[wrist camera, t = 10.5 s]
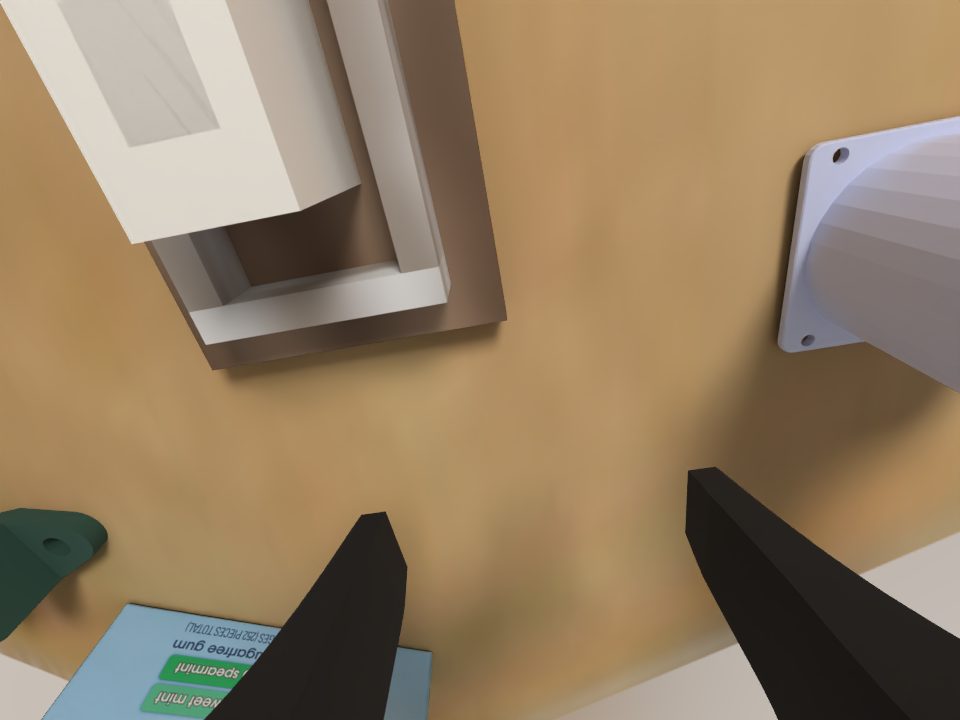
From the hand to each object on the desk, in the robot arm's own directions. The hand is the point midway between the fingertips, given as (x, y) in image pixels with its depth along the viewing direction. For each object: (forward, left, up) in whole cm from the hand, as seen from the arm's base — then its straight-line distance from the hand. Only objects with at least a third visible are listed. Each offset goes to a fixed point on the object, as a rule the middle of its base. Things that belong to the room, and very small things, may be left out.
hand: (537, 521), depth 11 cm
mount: (+29, +7, -10) cm, 31 cm away
